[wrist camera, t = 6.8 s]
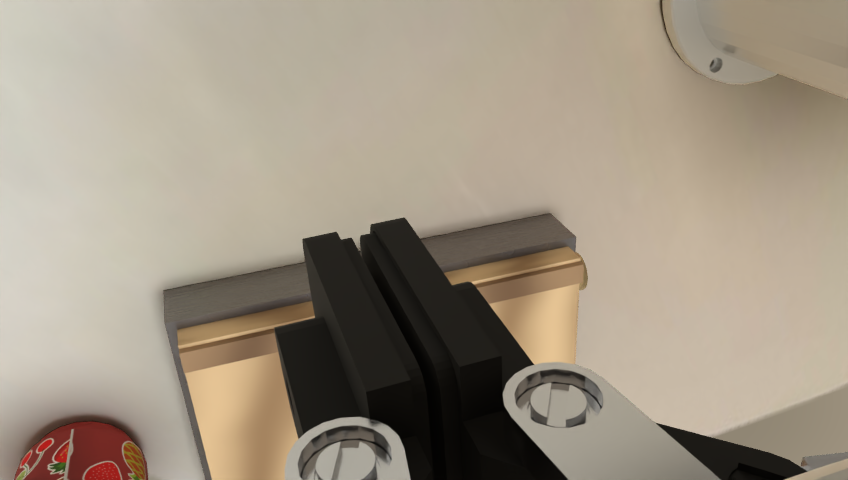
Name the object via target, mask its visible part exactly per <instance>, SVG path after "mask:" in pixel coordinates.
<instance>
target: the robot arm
mask: <svg viewBox="0 0 848 480" xmlns="http://www.w3.org/2000/svg"><path fill="white" fill-rule="evenodd" d="M662 6H663V16H664V21H665V26H666V31H667V33H668V36H669V38H670V40H671V43H672V45H673V47H674V49H675V50H676V52H677V53H678V54H679V56H680V57H681V59H682V60H683V61H684V62H685V63H686V64H687V65H688V66H690V67H691V68H692V69H693V70H694V71H695V72H697V73H699V74H702V75H704V76H706V77H708V78H710V79H712V80H716V81H719V82H722V83H725V84H737V85H744V84H750V83H756V82H761V81H763V80H766V79H769V78H771V77H774V76H776V75H778V74H780V75H782V76H785V77H788V78H790V79H793V80H796V81H799V82H801V83H804V84H807V85H810V86H812V87H815V88H818V89H820V90H823V91H826V92H829V93H831V94H834V95H837V96H840V97H842V98H845V99H848V0H662ZM360 245H361V254H362V257H361V255H360V253H359V251H358V249H357V247H356V245H355V243H354V241H353V240H352V238H347V239H343V240H341V239H340V237H339V235H338V233H337V232H333V233H329V234H324V235H319V236H314V237H310V238H305V239H303V249H304V256H305V262H306V268H307V274H308V280H309V285H310V291H311V297H312V303H313V309H314V315H315V318H312V319H308V320H304V321H299V322H295V323H291V324H287V325H283V326H278V327H274V332H275V337H276V343H277V348H278V353H279V357H280V362H281V367H282V372H283V377H284V382H285V386H286V391H287V395H288V399H289V404H290V408H291V412H292V416H293V420H294V424H295V428H296V432H297V435H298V440H297V441H296V442H295V444H294V445H293V447H292V448H291V450H290V452H289V453H288V455H287V460H286V465H285V480H848V452H845V453H836V454H826V455H817V456H809V457H803V459H802V462H801V466H798V465H796V464H795V463H793V462H791V461H790V460H788V459H785V458H782V457H780V456H777V455H774V454H771V453H768V452H765V451H761V450H757V449H753V448H749V447H745V446H742V445H738V444H734V443H730V442H726V441H723V440H719V439H715V438H711V437H707V436H704V435H700V434H696V433H692V432H688V431H685V430H681V429H677V428H673V427H669V426H666V425H662V424H658V423H655V422H654V421H652V420H651V419H650V418H649V417H648V416H647V415H645V414H644V413H643V412H642V411H641V410H640V409H639V408H637V407H636V406H635V405H634V404H633V403H632V402H630V401H629V400H628V399H627V398H626V397H625V396H623V395H622V394H621V393H620V392H619V391H618V390H617V389H615V388H614V387H613V386H612V385H611V384H610V383H608V382H607V381H606V380H605V379H604V378H602V377H601V376H599V375H598V374H596V373H595V372H593V371H592V370H590V369H587V368H584V367H581V366H579V365H576V364H570V363H563V362H548V363H540V364H536V365H534V364H533V362H532V361H531V360H530V358H529V357H528V356H527V354H526V353H525V352H524V350H523V349H522V348H521V346H520V345H519V344H518V342H517V341H516V340H515V338H514V337H513V336H512V334H511V333H510V332H509V330H508V329H507V328H506V326H505V325H504V324H503V322H502V321H501V320H500V318H499V317H498V316H497V314H496V313H495V312H494V310H493V309H492V308H491V306H490V305H489V304H488V302H487V301H486V300H485V298H484V297H483V296H482V294H481V293H480V292H479V290H478V289H477V288H476V286H475V285H474V284H473V283H472V282H468V281H467V282H463V283H459V284H455V285H452V284H451V283H450V281H449V280H448V278H447V277H446V276H445V274H444V273H443V271H442V270H441V268H440V267H439V266H438V264H437V263H436V261H435V260H434V258H433V257H432V256H431V254H430V253H429V251H428V250H427V248H426V247H425V246H424V244H423V243H422V241H421V240H420V238H419V237H418V236H417V234H416V233H415V231H414V230H413V228H412V227H411V226H410V224H409V223H408V221H407V220H406V219H405V218H400V219H395V220H390V221H385V222H381V223H376V224H371V227H370V234H366V235H361V237H360Z"/></svg>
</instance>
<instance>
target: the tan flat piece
mask: <svg viewBox="0 0 848 480" xmlns="http://www.w3.org/2000/svg"><path fill="white" fill-rule="evenodd" d="M580 260H581V258H580V257H579V256H578V255H577V254H576V253H575V252H574V251H573V250H572V249H570V248H569V247H568V246H567V247H562V248H558V249H553V250H548V251H544V252H539V253H534V254H529V255H525V256H520V257H515V258H511V259H506V260H501V261H497V262H492V263H487V264H483V265H478V266H473V267H469V268H464V269H459V270H454V271H450V272H445V273H444V274H445V276H446V277H447V278H448V280H449V281H450V283H451V284H452V285H455V284H459V283H463V282H467V281H468V282H472V283H473V284H474V285H475V286H476V288H477V289H478V290H479V292H480V293H481V294H482V296H483V297H484V298H485V300H486V301H487V302H488V304H489V305H490V306H491V308H492V309H493V310H494V312H495V313H496V314H497V316H498V317H499V318H500V320H501V321H502V322H503V324H504V325H505V326H506V328H507V329H508V330H509V332H510V333H511V334H512V336H513V337H514V338H515V340H516V341H517V342H518V344H519V345H520V346H521V348H522V349H523V350H524V352H525V353H526V354H527V356H528V357H529V358H530V360H531V361H532V362H533V364H534V365H536V364H540V363H548V362H563V363H570V364H575V357H576V338H577V319H578V299H579V283H583V272H584V264H583V263H582V262H581V261H580ZM312 318H315V315H314V309H313V303H312V301H309V302H304V303H300V304H295V305H290V306H286V307H281V308H276V309H272V310H267V311H262V312H258V313H253V314H248V315H244V316H239V317H234V318H229V319H225V320H220V321H215V322H211V323H206V324H201V325H197V326H192V327H187V328H183V329H178V330H177V336H178V348H179V355H180V359H181V363H182V367H183V371H184V373H185V375H186V379H187V383H188V387H189V391H190V395H191V399H192V403H193V407H194V411H195V415H196V419H197V422H198V426H199V430H200V434H201V438H202V442H203V446H204V450H205V454H206V458H207V462H208V466H209V470H210V474H211V478H212V480H285V465H286V460H287V455H288V453H289V452H290V450H291V448H292V447H293V445H294V444H295V442H296V441H297V440H298V435H297V432H296V428H295V424H294V420H293V416H292V412H291V408H290V404H289V399H288V395H287V391H286V386H285V382H284V377H283V372H282V367H281V362H280V357H279V353H278V348H277V343H276V337H275V332H274V327H278V326H283V325H287V324H291V323H295V322H299V321H304V320H308V319H312Z"/></svg>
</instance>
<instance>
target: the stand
mask: <svg viewBox="0 0 848 480" xmlns="http://www.w3.org/2000/svg"><path fill="white" fill-rule="evenodd" d="M420 240H421V241H422V243H423V244H424V246H425V247H426V248H427V250H428V251H429V253H430V254H431V256H432V257H433V258H434V260H435V261H436V263H437V264H438V266H439V267H440V268H441V270H442V271H443V273H445V272H450V271H454V270H459V269H464V268H469V267H473V266H478V265H483V264H487V263H492V262H497V261H501V260H506V259H511V258H515V257H520V256H525V255H529V254H534V253H539V252H544V251H548V250H553V249H558V248H562V247H567V246H568V247H569V248H570V249H572V250H573V251H574V252H575V249H576V236H575V235H573V234H572V233H571V232H570V231H569V230H568V229H567V228H566V227H565V226H564V225H563V224H561V223H560V222H559V221H558V220H557V219H556V218H555V217H554V216H553V215H552V214H551V213H550V214H545V215H540V216H535V217H530V218H525V219H520V220H515V221H510V222H505V223H500V224H495V225H490V226H485V227H480V228H475V229H470V230H465V231H460V232H455V233H450V234H445V235H440V236H435V237H430V238H425V239H420ZM359 253H360V255H361V257H362V254H361V251H360V252H359ZM575 253H576V254H577V255H578V256H579V257H580V258H581V260H580V261H581V262H582V263H583V264H584V272H583V283H579V290H583V289H585V288H586V286H587V281H588V276H587V269H586V266H585V263H584V261H583V259H582V257H581V256H580V255H579V254H578V253H577V252H575ZM309 301H312V297H311V291H310V285H309V280H308V274H307V268H306V262H305V263H300V264H295V265H290V266H285V267H280V268H275V269H270V270H265V271H260V272H255V273H250V274H245V275H240V276H235V277H230V278H225V279H220V280H215V281H210V282H205V283H200V284H195V285H190V286H185V287H180V288H175V289H170V290H165V291H164V316H165V326H166V330H167V334H168V338H169V342H170V345H171V349H172V353H173V357H174V361H175V365H176V368H177V372H178V376H179V380H180V384H181V387H182V391H183V395H184V399H185V403H186V407H187V410H188V414H189V418H190V422H191V426H192V430H193V433H194V437H195V441H196V445H197V449H198V453H199V456H200V460H201V464H202V468H203V472H204V475H205V479H206V480H212V478H211V474H210V470H209V466H208V462H207V458H206V454H205V450H204V446H203V442H202V438H201V434H200V430H199V426H198V422H197V419H196V415H195V411H194V407H193V403H192V399H191V395H190V391H189V387H188V383H187V379H186V375H185V373H184V371H183V367H182V363H181V359H180V355H179V348H178V336H177V330H178V329H183V328H187V327H192V326H197V325H201V324H206V323H211V322H215V321H220V320H225V319H229V318H234V317H239V316H244V315H248V314H253V313H258V312H262V311H267V310H272V309H276V308H281V307H286V306H290V305H295V304H300V303H304V302H309Z"/></svg>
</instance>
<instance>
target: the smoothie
mask: <svg viewBox="0 0 848 480" xmlns="http://www.w3.org/2000/svg"><path fill="white" fill-rule="evenodd" d="M14 480H148V472H147V462H146V460H145V458H144V455H143V453H142V451H141V449H140V448H139V447H138V446H137V445H135V444H134V443H133V441H132V439H131V438H130V437H129V436H128V435H127V434H126V433H125V432H124V431H122V430H120V429H118V428H116V427H114V426H112V425H110V424H106V423H100V422H94V421H90V422H75V423H72V424H68V425H65V426H62V427H59V428H57V429H55V430H54V431H52V432H50V433H49V434H47V435H45V436H44V437H43V438H42V439H41V440H40V442H39V443H37V444H36V445H34V446H33V447H32V448H31V449H30V450H29V451H28V453H27V454H26V455H25V456H24V457H23V458H22V459H21V462H20V464H19V467H18V469H17V472H16V475H15V478H14Z"/></svg>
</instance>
